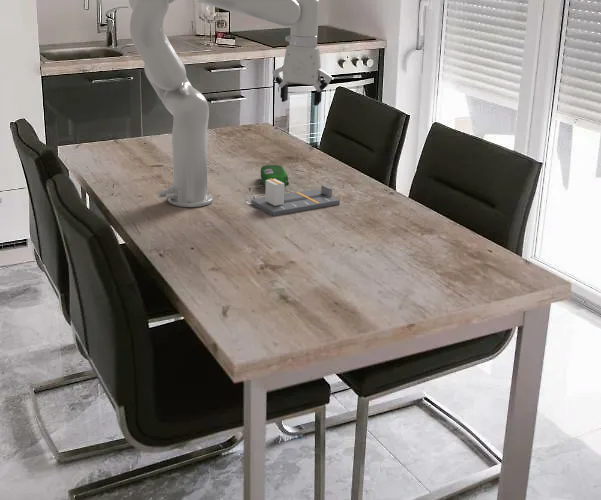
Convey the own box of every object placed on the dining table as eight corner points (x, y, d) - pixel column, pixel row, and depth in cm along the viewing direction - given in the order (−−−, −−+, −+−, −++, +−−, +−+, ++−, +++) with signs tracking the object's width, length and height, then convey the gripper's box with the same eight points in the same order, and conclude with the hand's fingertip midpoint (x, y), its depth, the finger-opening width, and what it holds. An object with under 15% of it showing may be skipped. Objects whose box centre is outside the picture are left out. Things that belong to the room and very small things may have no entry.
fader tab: (274, 205, 247) (275, 184, 245) (265, 200, 251) (265, 179, 249) (283, 204, 249) (284, 182, 246) (274, 199, 253) (274, 178, 250)
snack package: (265, 194, 262) (266, 176, 260) (258, 178, 277) (259, 161, 275) (289, 193, 264) (290, 176, 262) (281, 177, 278) (282, 161, 276)
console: (273, 216, 244) (273, 203, 242) (251, 203, 253) (251, 191, 252) (339, 204, 255) (340, 192, 254) (316, 192, 264) (316, 180, 263)
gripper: (269, 40, 248) (267, 101, 255) (329, 46, 244) (325, 108, 250) (278, 37, 255) (276, 97, 261) (337, 43, 250) (333, 104, 256)
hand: (300, 102), depth 256 cm, fingers open, 9 cm apart
